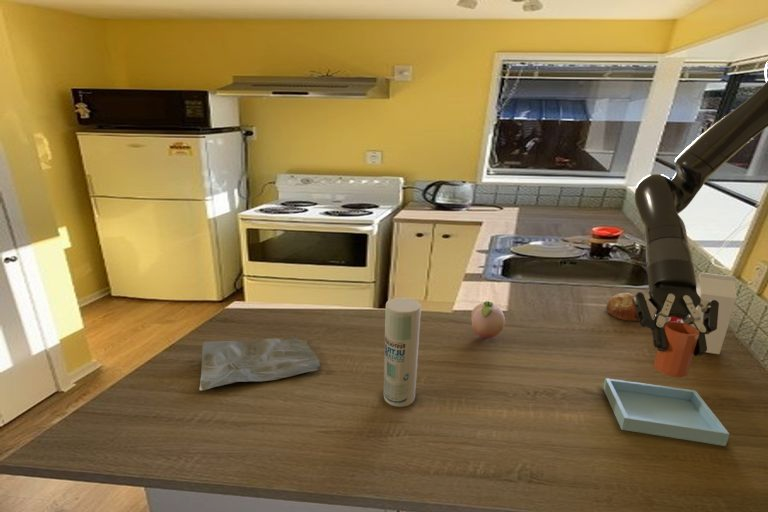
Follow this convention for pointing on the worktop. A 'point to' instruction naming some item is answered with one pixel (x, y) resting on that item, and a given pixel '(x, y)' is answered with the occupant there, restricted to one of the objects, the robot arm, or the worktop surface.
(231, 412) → the worktop surface
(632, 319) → the bread roll
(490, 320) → the decorative fruit
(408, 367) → the spray can
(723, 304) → the milk carton
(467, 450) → the worktop surface
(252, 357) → the grey flat pouch
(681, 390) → the tray
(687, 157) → the robot arm
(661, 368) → the cup
